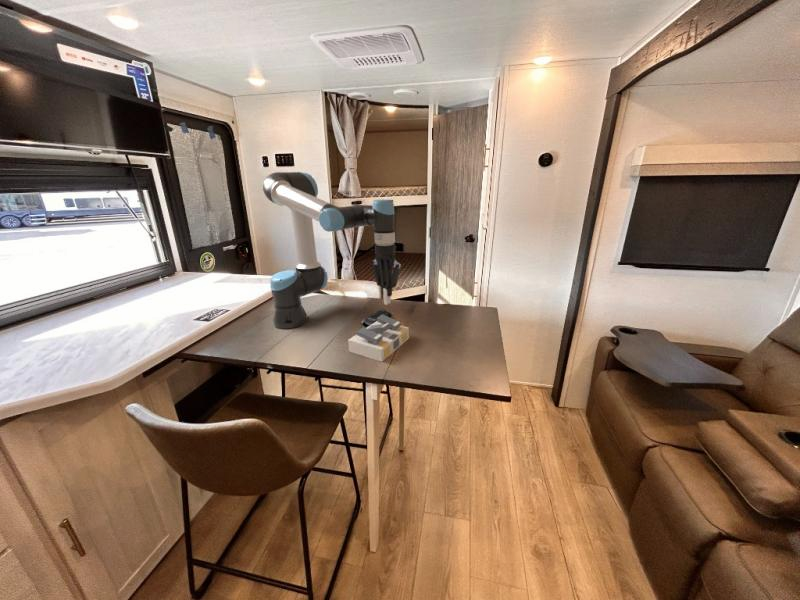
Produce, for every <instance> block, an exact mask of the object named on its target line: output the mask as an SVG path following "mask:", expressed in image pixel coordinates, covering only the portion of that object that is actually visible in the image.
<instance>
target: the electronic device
mask: <svg viewBox="0 0 800 600" xmlns="http://www.w3.org/2000/svg"><path fill="white" fill-rule="evenodd" d="M382 314H383V315H385V316H387V317H389V318H392V319H393V315H394V313H393V312H392V311H391V312H390V311H387V310H386V309H378V310H377V311H376V312H374V313H373V314H371V315H368V316H366V317H364V318H363V319H362V320H361V325H362V328H363V327H364V328H366V326H364V325H365V324H366V325H368V327H369V326H370V325H372V324H373V323H375V322H376V321H377V318H378V317H379V316H381V315H382Z"/></svg>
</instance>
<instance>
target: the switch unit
mask: <svg viewBox="0 0 800 600" xmlns="http://www.w3.org/2000/svg"><path fill="white" fill-rule="evenodd" d="M380 324H381V323H379V322H377V321H376V322H375V323H373V324H372V325H380ZM372 325H370V326H369V325H368V326H367V327H366V328H367V329H368V328H369V327H371V326H372ZM409 329H410V328H409V327H408V326H404V325H400V327H399V328H397V329H396V330H394V329H392V328H389V329H388V330H386V331H383V332H376V333H378V334H381V335H383V339H382V340H381V341H379V342H378V343H377V344H376V343H373V342H371V341H369V340H367V339H364V338H362V337H360V336H358V335H357V333H356V334H355V335H353V336H352V337H351V338H349V339H348V340H347V341H348V352H350V353H352V354H356V355H358V356H363V357H366V358H368V359H372V360H374V361H378V362H381V363H383V362H384V361H385V360H386V359H387V358H388V357H390V356H391V354H393V353H394V352H395V351H396V350H398V348H400V346H401V347H402V345H403V344H404V343H405V342H407V340H409V339H410V335H409V334H410V333H409V332H410V330H409Z"/></svg>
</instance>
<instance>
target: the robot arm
mask: <svg viewBox="0 0 800 600" xmlns="http://www.w3.org/2000/svg"><path fill="white" fill-rule="evenodd" d="M262 190H263V193H264V196H265V197H266V198H267V199H268V201H270V202H271V203H273V204H274V205H276V206H277V205H278V206H281V207H283V206H285V207H287V208H288V209H289V210H290V213H291V214H290V215H291V220H292V227H293V234H294V241H295V250H296V256H297V263H296V265H295V270H294V269H286V270H282V271H279V272H277V273H275V274H273V275H272V276H271V277H270V280H269V284H270V290H271V294H272V300H273V306H274V313H273V318H272V323H273V326H274V327H275V328H277V329H284V330H285V329H286V330H287V329H293V328H298V327H300V326H303V325H304V324H306V323H307V322H308V315H307V312H306V311H305V309H304V307H303V305H302V297H304V296H307V295H311V294H314V293H317V292H319V291H321V290H323V289H324V288H326V286H327V283H328V272H327V271H326V269H325V268H324V266H322V265H321V263H320V262H319V261H318V257H317V248H316V242H315V233H314V225H313V220H315V221H316V222H319V226H320V227H322V229H323V231H325V232H339V231H343V230H347V229H354V228H359V227H373V234H374V236H373V237H374V243H375V245H374V253H375V257H374V259H373V260H370V265H371V267H372V269H373V273H374V278H375V280H376V281H375V282H376V285H377V286H378V287H381V294H382V296H383V305H386V306H387V305H389V304H391V302H392V301H391V299H392V298H391V297H392V295H393V288H395V287H397V284H398V279H399V274H400V269H401V267H402V263H401V262H398V261H397V257H396V244H395V242H396V229H395V214H396V212H395V207H394V205H395V204H394V200H392V199H375V200H373V201H372V205H371V204H370V205H368V204H360V203H359V204H351V205H350V206H337V205H334V204H332V203H330V202H327V201H325V200H323V199H322V198H321V199H320V198H318V193H319V188H318V184H317V182H316V179H315V178H314V177H313V176H312V175H311V174H309V173H307V172H302V171H301V172H300V171H293V172H292V171H285V172H282V171H278V172H277V171H276V172H273V173H270V174H269V175H267V176H266V177H265V179H264V181H263V183H262Z"/></svg>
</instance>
